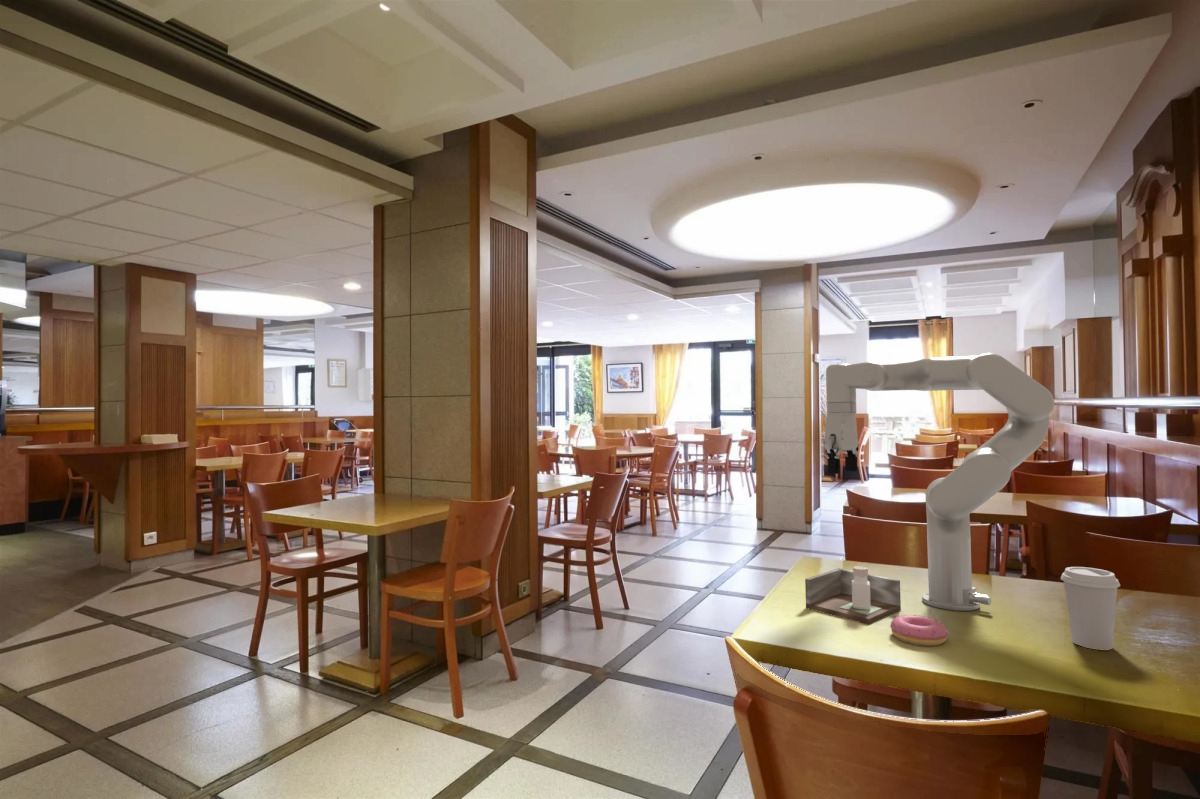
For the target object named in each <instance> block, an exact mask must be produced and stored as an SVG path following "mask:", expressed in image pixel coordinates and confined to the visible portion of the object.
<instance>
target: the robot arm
mask: <svg viewBox="0 0 1200 799" xmlns="http://www.w3.org/2000/svg"><path fill="white" fill-rule="evenodd" d="M825 387H826V388H825V389H826V419H825V424H824V425H825V426H824V427H825V428H824V449H825V453H826V459H827V473H828V474H832V475H833V474H836V475H838V474H841V459H840V457H839V456H840V454H841V452H844V453H845V455H846V456H844V462H845V463H844V464H845V466H844V467H845V471H846V472H858V455H859V453H858V451H859V444H860V440H859V439H858V428H857V421H856V420H857V419H856V415H857V389H858V390H866V391H868V392H869V391H870V392H881V391H882V392H883V391H921V392H928V391H931V392H933V391H935V392H936V391H975V390H976V391H978V390H983V391H984V392H985V393H987V394H988V395H989V396H990V397H992V398H993V399H994V400H995V401H997V402H998V403H1000V404H1001V405H1002V406H1003V407H1004V408H1005V409H1006V411H1007V413H1008V419H1007V421H1006V423H1005V425H1004V426H1003V427H1002V428H1001V429H1000V430H999V431H997V432H996V433H994V435H993V436H992V437H991V438H990V439H988V440H987V441H986V442H984V443H983V444H981V445H980V446H979V447H978V448H976V449H975V450H973V451H972V452H970V453H969V454H967V455H966V456H965V457H964V458H963V461H962V463H961V464H960V465H958V466H957V467H956V468H955V469H953V471H950V473H948V474H947V475H946V476H945V477H939V478H936V479H935V480H933V481H932V482H930V483H929V484H928V487H927V488H926V492H925V508H926V509H925V512H926V533H927V534H926V535H927V536H926V537H927V540H926V542H927V543H926V544H927V572H928V573H927V575H928V576H927V577H928V592H926V593H923V594H922V595H921V599H922V602H923V603H924V604H927V605H928V606H932V607H935V608H939V609H943V610H951V611H960V612H963V611H964V612H967V611H976V610H978V609H980V608H981V605H985V606H991V604H992V598H991V597H990V596H989V595H987V594H984V593H983V594H982V593H981V594H980V593H979V592H977V587H975V586H973V585H972V584H973V582H972V579H973V578H972V554H971V553H972V548H971V543H972V542H971V539H972V538H971V520H970V519H971V518H970V514H972V513H973V512H974V511H975V510H977V509H978V508H980V506H982V505H983V504H985V503H986V502H987V501H989V500H990V499H991V498H993V497H994V496H996V494H998V493H999V492H1000V491H1002V490H1003V489H1004V488H1005V486H1006V485H1007V484H1008V483H1009V481H1010V478H1011V476H1012V471H1013V470H1015V469H1016V468H1017V467H1019V466H1020V465H1021V464H1022V463H1023V462H1024V461H1026V459H1028V458H1029V457H1030V456H1031V455H1033V454H1034V453H1035V452H1036V451H1037V450H1038V449H1039V448H1040V447H1041V446H1042V444H1044V442H1045V440H1046V437H1047V436H1048V432H1049V428H1050V415H1051V413H1053V410H1054V408H1055V399H1054V396H1053V394H1052V392H1051V391H1050V390H1049V389H1048V388H1046V386H1044V385H1043V384H1041V383H1040V382H1038V381H1037V380H1035V379H1034V378H1033V377H1031V376H1030V375H1028V374H1027V373H1026V372H1024V371H1023V370H1022V369H1020V368H1018V367H1017V366H1016V365H1015V364H1013V363H1012V362H1011V361H1009V360H1008V359H1007V358H1005V357H1003V356H1002V355H1000V354H997V353H993V352H987V353H986V352H985V353H981V354H979V355H967V356H966V355H965V356H945V357H944V356H943V357H942V356H941V357H927V358H923V359H919V360H918V359H917V360H916V361H909V362H900V363H899V362H898V363H897V362H896V363H880V362H876V361H863V362H859V363H858V362H857V363H851V364H850V363H835V364H830V365H828V366H827V367H826V370H825Z"/></svg>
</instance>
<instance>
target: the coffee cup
mask: <svg viewBox="0 0 1200 799" xmlns="http://www.w3.org/2000/svg"><path fill="white" fill-rule="evenodd" d="M1060 580H1061V581H1063V584H1064V585H1063V586H1064V592H1065V593H1064V594H1065V599H1066V605H1067V614H1068V620H1069V621H1068V622H1069V627H1070V632H1071V633H1070V634H1071V642H1072V643H1073V642H1074V643H1075V644H1078V645H1080V646H1084V647H1088V648H1095V649H1112V648H1113V649H1114V639H1115V623H1116V611H1117V610H1116V608H1117V598H1118V596H1117V594H1118V593H1117V592H1118V588H1121V584H1120V582H1119V579H1118V578H1116V575H1115V573H1114V572H1112V571H1109V570H1106V569H1105V570H1104V569H1100V568H1094V567H1085V566H1070V567H1069V566H1068V567H1065V569H1064V572H1062V573H1061V576H1060ZM1074 643H1073V644H1074ZM1075 644H1074V645H1075ZM1080 646H1079V647H1080ZM1113 649H1112V650H1113Z"/></svg>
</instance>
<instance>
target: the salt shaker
mask: <svg viewBox="0 0 1200 799" xmlns="http://www.w3.org/2000/svg"><path fill="white" fill-rule="evenodd" d="M852 568H853V569H852V571H853V572H854V573H853V575H854V580H852V606H853V608H855V609H863V610H869V609H870V608H871V603H870V582H869V581H868V580H867V577H868V574H869V572H868V570H869V569H868V567H865V566H861V565H860V566H859V565H857V566H853V567H852Z"/></svg>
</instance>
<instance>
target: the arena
mask: <svg viewBox="0 0 1200 799" xmlns="http://www.w3.org/2000/svg"><path fill="white" fill-rule="evenodd" d="M853 573H854V572H853V570H849V569H844V568H836V569H832V570H829V571H826V572H822V573H820V574H816V575H814V576H810V577H807V578H805V582H804V584H805V587H804V588H805V590H804V591H805V609H808V608H809V609H808V610H811V609H813V610H812V611H815V610H817V611H816V612H819V611H820V613H823V612H824V614H827V613H828V615H831V614H832V615H831V616H834V615H835V617H838V618H841V619H842V618H843V619H845V620H850V621H854V622H858V623H861V624H865V625H870V624H872V623H873V624H874V623H875V622H877V621H879V620H882V619H884V618H886V617H888V616H891V615H892V614H895V613H897V612H899V611H901V609H902V608H901V604H902V603H901V601H902V600H901V580H900V579H895V578H890V577H886V576H882V575H881V576H880V575H876V574H870V573H868V577H867V580H868V581H869V582H870V603H871V608H870V609H869V610H863V609H855V608H853V606H852V580H854V575H853Z"/></svg>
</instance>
